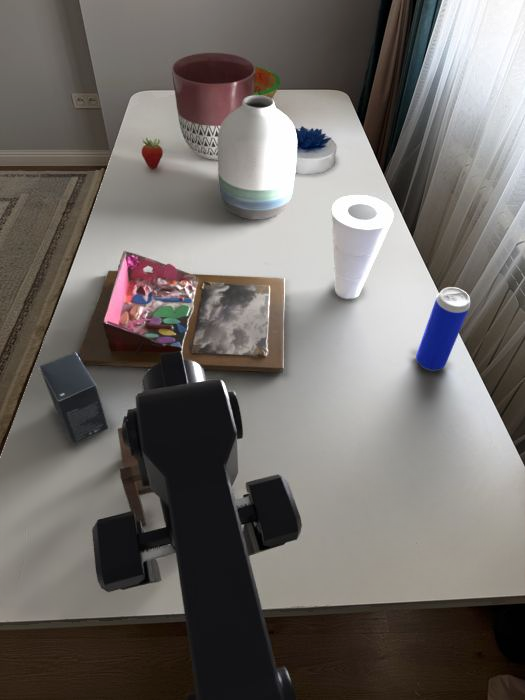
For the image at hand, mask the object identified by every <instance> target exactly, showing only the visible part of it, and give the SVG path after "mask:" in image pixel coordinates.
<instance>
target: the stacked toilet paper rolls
mask: <svg viewBox="0 0 525 700" xmlns="http://www.w3.org/2000/svg"><path fill="white" fill-rule="evenodd" d="M393 219H394V212H393V210H392V208H391V207H390V205H388V204H387V203H386V202H384V201H382V200H381V199H379V198H376V197H372V196H369V195H361V194H353V195H347V196H342V197H340V198H338V199H336V200H335V202H333V204H332V206H331V227H332V228H331V229H332V246H333V247H332V248H333V250H332V251H333V262H334V263H333V266H334V267H333V268H334V269H333V270H334V291H335V294H336V295H337V296H338V297H340V298H342V299H346V300H353V299H356V298H358V296H360V295H361V294H360V293H361V292H362V289H363V287H364V284H365V282H366V280H367V278H368V276H369V273H370V270H371V268H372V266H373V264H374V262H375V259H376V257H377V255H378V253H379V251H380V249H381V246H382V244H383V242H384V240H385V237H386V235H387V233H388V231H389V228H390V226H391V224H392V222H393Z"/></svg>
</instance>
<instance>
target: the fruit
mask: <svg viewBox="0 0 525 700" xmlns="http://www.w3.org/2000/svg"><path fill="white" fill-rule="evenodd" d="M160 142H161V141H160V139H159V138H158V139H157V138H154V140H153V141H152V139H148V137H145V140H144V139H142V143H143V144H144V146H142V148H141V156H142V158H143V160H144V162H145V164H146V166H148V168H149V169H150V170H155V169H157V168H158V166H159V164H160V162H161V159H162V157H163V155H164V152H163V151H164V150H163V148H162V146H161V145H159V144H160Z"/></svg>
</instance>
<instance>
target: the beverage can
mask: <svg viewBox="0 0 525 700" xmlns="http://www.w3.org/2000/svg"><path fill="white" fill-rule="evenodd" d="M470 307H471V299H470V296H469V294H468V293H467V292H466V291H465V290H463V289H461V288H459V287H455V286H454V287H453V286H448V287H445V288H442V289H441V290H440V291H439V293H437V295H436V298H435V300H434V303H433V306H432V309H431V312H430V315H429V318H428V320H427V324H426V326H425V329H424V331H423V334H422V338H421V340H420V343H419V346H418V349H417V352H416V355H415V358H416V361H417V363H418V364H419V366H420V367H421V368H423V369H425V370H427V371H430V372H431V371H434V372H435V371H440V370H442V369H444V368H445V366H446V365H447V363H448V360H449V357H450V355H451V353H452V351H453V348H454V345H455V343H456V341H457V339H458V336H459V334H460V331H461V329H462V327H463V324H464V321H465V320H466V317H467V314H468V313H469V309H470Z"/></svg>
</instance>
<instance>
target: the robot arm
mask: <svg viewBox="0 0 525 700" xmlns="http://www.w3.org/2000/svg"><path fill="white" fill-rule="evenodd" d="M160 360H161V362H160V363H158V364H156V365H155V366H153V367H149V369H148V370H147V371H146V372H145V374H144V376H143V378H142V381H141V382H142V389H143V390H142V392H138V393H137V394H136V395H135V407H134V408H128V409H127V412H126V415H125V416H123V418H122V424H121V427H120V428H121V430H122V438H123V443H124V445H126V446H127V447H129V448H130V449H131V455H132V456H134V457H135V459H137V462H138V467H139V472H140V477H141V481H142V486H143V487H146V486H150V488H151V490H152V491H153V492H152V493H154V494H155V495H156V496H157V497H158V498H159V501H160V506H161V511H162V515H163V520H164V521H163V522H164V525H165V526H163V527H160V528H156V529H152V530H148V531H145V530H144V528H143V527H144V526H143V527H142V524H141V521H139V522H136V515H135V512H134V510H133V511H131V510H129V511H126V512H122V513H118V514H114V515H110V516H105V517H102V518H98V519H97V520H96V521H95V523H94V525H93V527H92V529H91V534H92V535H91V536H92V545H93V556H94V567H95V575H96V580H97V583H98V585H99V586H100V588H101V590H103V591H105V592H107V593H111V592H115V591H119V590H122V591H124V590H128V589H132V588H138V587H142V586H146V585H150V584H156V583H160V582H162V575H161V569H160V566H159V561H157V559H160V558H163V557H168V556H172V555H175V556H176V557H175V558H176V565H177V570H178V577H179V585H180V591H181V598H182V605H183V612H184V617H185V625H186V633H187V639H188V646H189V653H190V660H191V666H192V675H193V681H194V687H195V690H194V691H191V692H187V693H185V699H186V700H297V697H296V693H295V689H294V687H293V686H294V685H293V682H292V680H291V677H290V674H289V671H288V670H287V668H286V666H285V665H284V666H280V667H277V664H276V660H275V656H274V651H273V648H272V644H271V640H270V636H269V632H268V628H267V627H268V626H267V624H266V620H265V615H264V612H263V611H264V610H263V607H262V603H261V599H260V594H259V591H258V587H257V583H256V580H255V575H254V571H253V566H252V562H251V558H250V557H251V556H255V555H257V554H259V553H264V552H266V551H269V550H272V549H275V548H277V547H281V546H284V545H285V544H286V543H290V542H294V541H298V539H299V537H300V535H301V533H302V527H303V523H302V518H301V513H300V512H299V509H298V506H297V503H296V500H295V498H294V495H293V492H292V490H291V486H290V484H289V481H288V480H287V479H286V478H285V477H283V476H281V474H278V473H277V474H273V475H269V476H264V477H260V478H257V479H254V480H250V481H246V482H245V489H246V492H247V493H245V494H242V497H240V498H235V495H234V489H233V486H234V483H235V480H236V478H237V476H238V473H239V456H238V455H239V453H238V452H239V451H238V440H242V439H243V438H244V429H243V420H242V419H243V418H242V413H241V409H240V404H239V401H238V396H237V394H236V392H235V391H234V390H229V391H228V390H227V386H226V384H225V382H224V381H223V380H222V379H221V378H217V379H216V378H212V379H207V377H206V373H205V369H203V368H202V367H201V366H200V365H199V364H198V363H196V362H194V361H192V360H187V359H183V356H182V352H181V351H178V352H172V353H166V354H160Z"/></svg>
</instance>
